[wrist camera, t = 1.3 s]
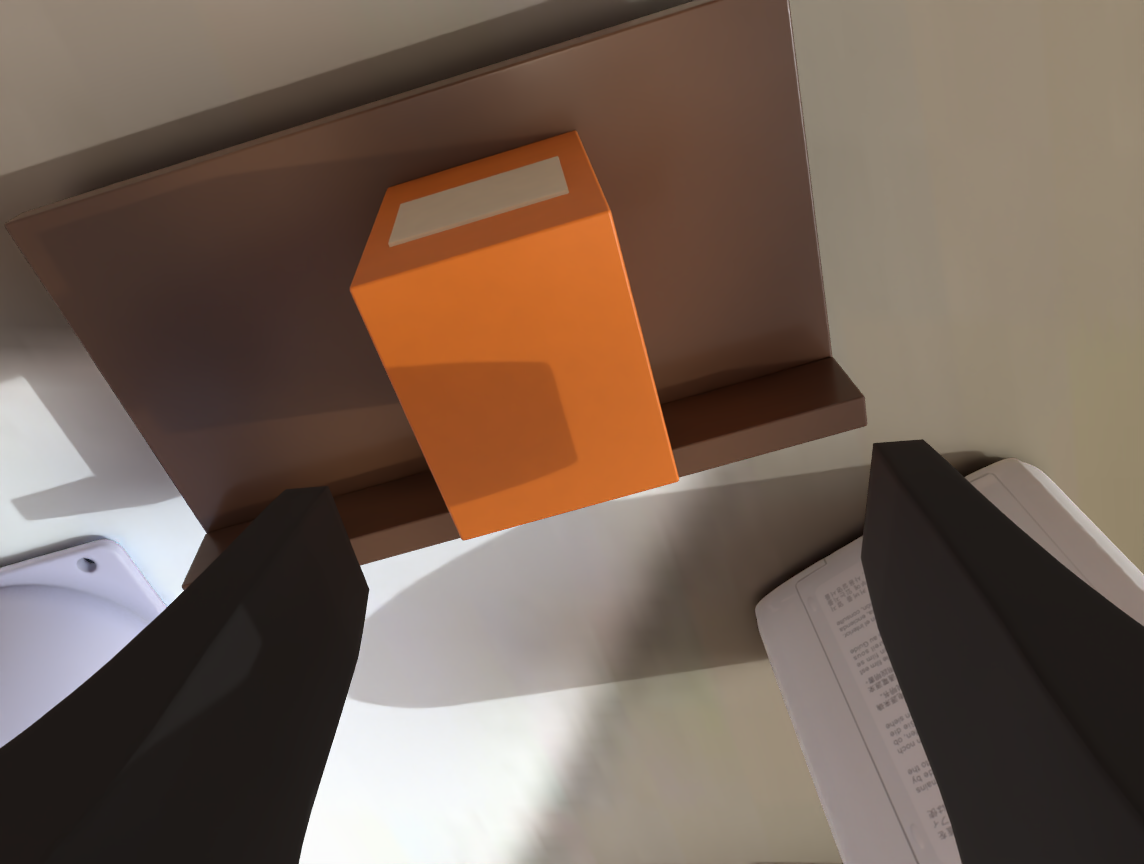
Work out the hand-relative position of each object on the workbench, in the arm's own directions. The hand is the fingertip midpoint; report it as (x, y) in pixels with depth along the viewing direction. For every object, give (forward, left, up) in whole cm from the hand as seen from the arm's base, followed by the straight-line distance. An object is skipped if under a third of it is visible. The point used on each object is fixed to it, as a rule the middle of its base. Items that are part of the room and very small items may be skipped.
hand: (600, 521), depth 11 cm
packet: (-1, +1, -8) cm, 8 cm away
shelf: (-2, 0, -11) cm, 11 cm away
